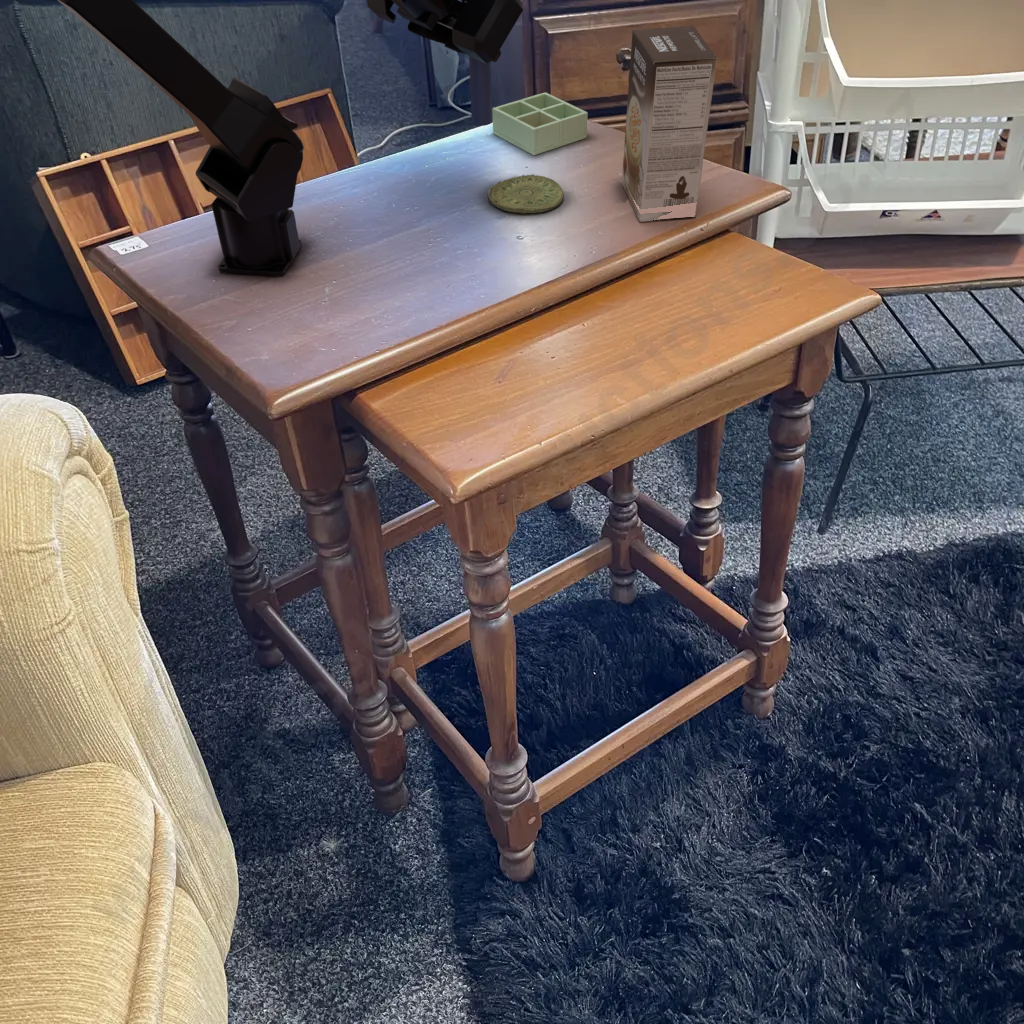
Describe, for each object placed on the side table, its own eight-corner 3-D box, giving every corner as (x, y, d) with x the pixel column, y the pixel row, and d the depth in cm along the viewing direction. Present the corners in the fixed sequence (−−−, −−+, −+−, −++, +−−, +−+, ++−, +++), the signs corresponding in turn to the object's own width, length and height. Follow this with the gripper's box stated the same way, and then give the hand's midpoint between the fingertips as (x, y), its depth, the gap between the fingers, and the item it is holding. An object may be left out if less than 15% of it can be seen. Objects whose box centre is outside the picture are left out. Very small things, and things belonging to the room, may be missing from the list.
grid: (533, 155, 113) (533, 129, 111) (492, 133, 118) (492, 108, 115) (586, 137, 116) (587, 112, 114) (545, 116, 121) (545, 92, 119)
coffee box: (619, 184, 107) (629, 27, 96) (676, 180, 108) (693, 23, 97) (638, 223, 101) (652, 60, 90) (699, 219, 101) (720, 56, 90)
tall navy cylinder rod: (476, 127, 104) (471, 4, 96) (468, 119, 105) (463, -2, 97) (495, 123, 104) (492, 1, 96) (487, 116, 106) (484, -5, 98)
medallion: (578, 194, 105) (578, 188, 105) (530, 221, 101) (530, 214, 100) (521, 173, 109) (521, 167, 109) (473, 198, 105) (472, 192, 104)
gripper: (505, -112, 82) (596, 4, 94) (379, -146, 92) (476, -38, 105) (434, 10, 84) (533, 108, 96) (319, -37, 94) (421, 57, 107)
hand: (490, 54), depth 101 cm, fingers closed on tall navy cylinder rod, 2 cm apart
